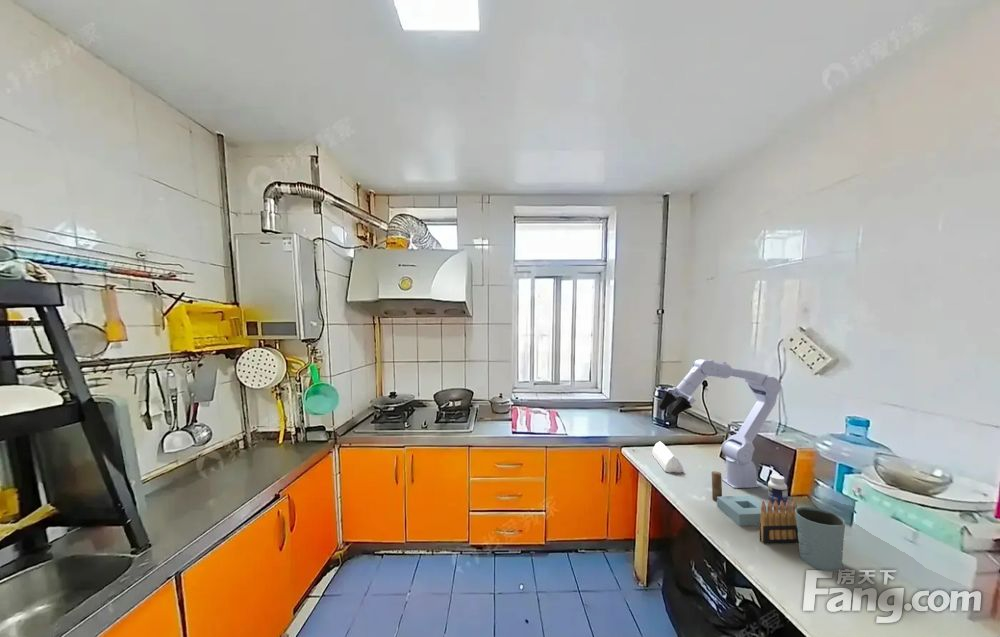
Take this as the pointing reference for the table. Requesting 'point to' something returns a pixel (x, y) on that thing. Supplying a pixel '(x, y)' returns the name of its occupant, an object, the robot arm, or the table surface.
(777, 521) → the ammunition clip
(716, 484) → the walnut peg
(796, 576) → the table surface
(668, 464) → the crystal
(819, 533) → the grey plant pot
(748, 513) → the socket block
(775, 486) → the pill bottle
